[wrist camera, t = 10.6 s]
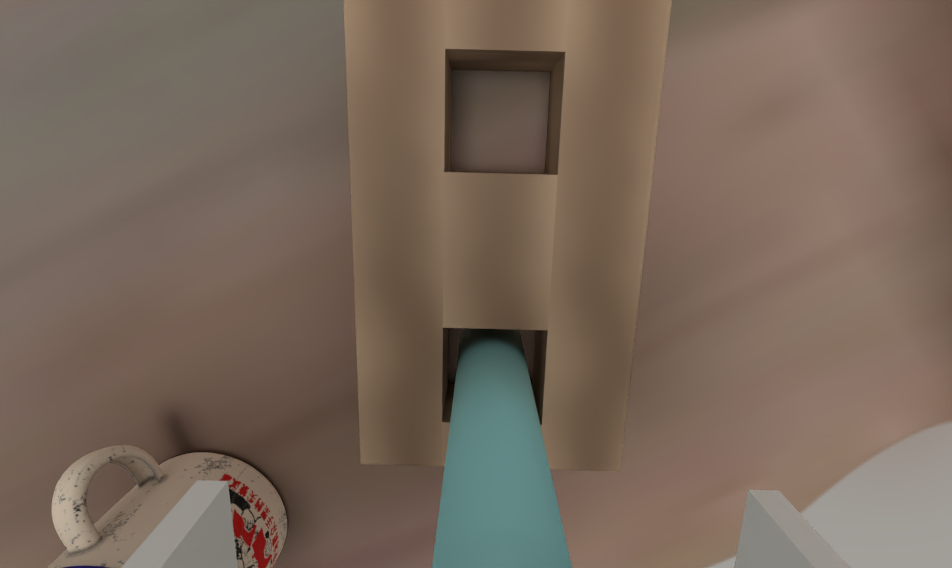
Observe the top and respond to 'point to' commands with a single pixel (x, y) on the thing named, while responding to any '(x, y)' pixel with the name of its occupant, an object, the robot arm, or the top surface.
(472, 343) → the teal peg
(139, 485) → the teacup with lid
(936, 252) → the top surface
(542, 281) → the walnut hole block
